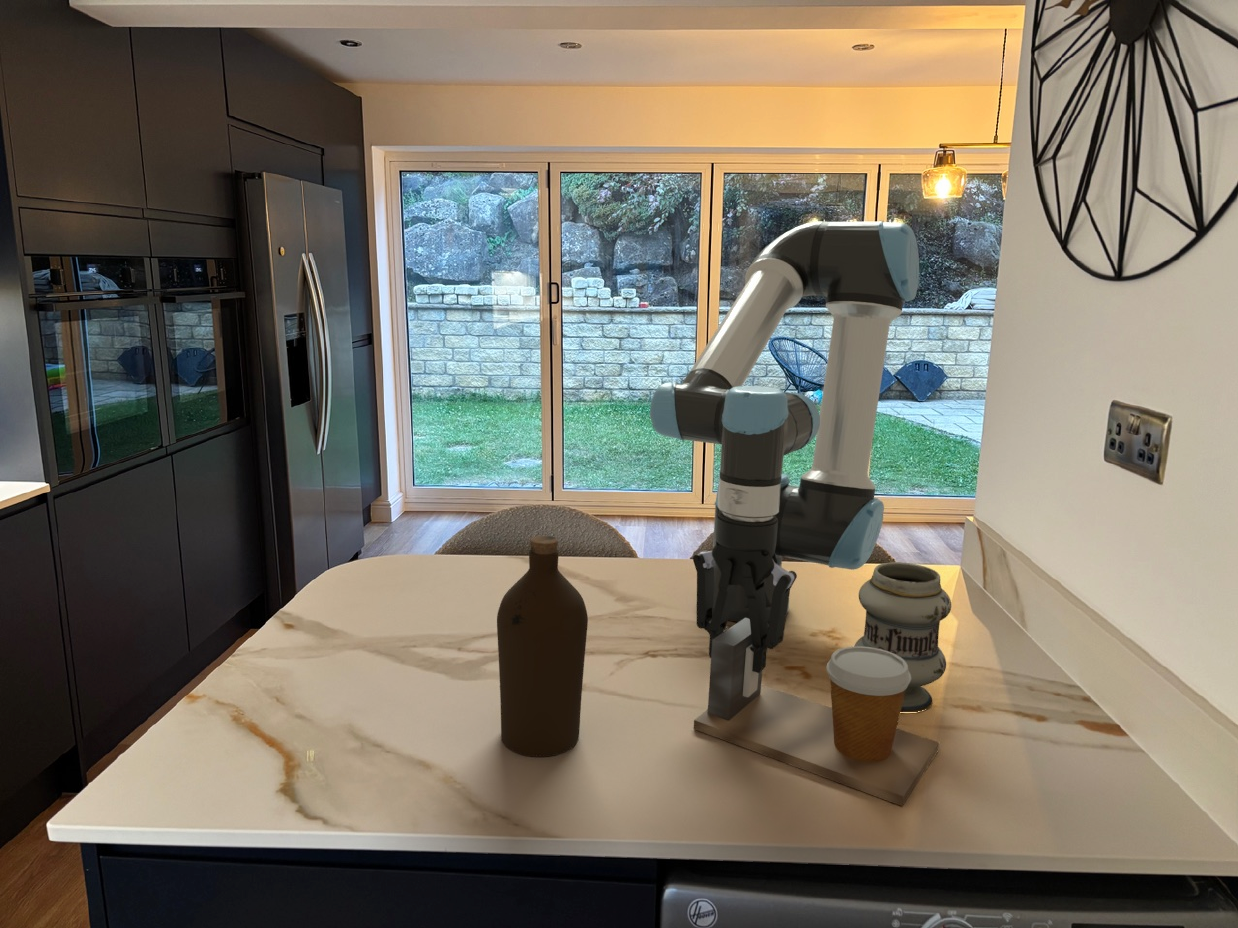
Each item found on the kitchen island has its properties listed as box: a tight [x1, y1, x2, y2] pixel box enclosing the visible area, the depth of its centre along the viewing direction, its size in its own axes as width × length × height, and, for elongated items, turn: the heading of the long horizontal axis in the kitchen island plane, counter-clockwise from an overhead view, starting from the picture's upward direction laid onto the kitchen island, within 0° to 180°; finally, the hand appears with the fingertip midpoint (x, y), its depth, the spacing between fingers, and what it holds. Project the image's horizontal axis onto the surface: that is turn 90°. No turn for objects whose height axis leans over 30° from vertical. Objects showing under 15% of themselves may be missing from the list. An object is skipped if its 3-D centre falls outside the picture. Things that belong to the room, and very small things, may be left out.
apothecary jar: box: [853, 561, 952, 712], centre depth 117 cm, size 12×12×18 cm
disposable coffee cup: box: [826, 646, 911, 762], centre depth 103 cm, size 10×10×12 cm
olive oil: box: [496, 535, 589, 758], centre depth 103 cm, size 11×11×25 cm
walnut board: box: [693, 618, 940, 807], centre depth 106 cm, size 26×14×11 cm, turn 55°
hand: (734, 687), depth 113 cm, fingers open, 4 cm apart
